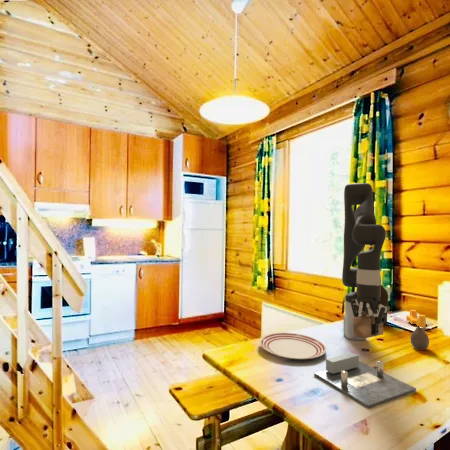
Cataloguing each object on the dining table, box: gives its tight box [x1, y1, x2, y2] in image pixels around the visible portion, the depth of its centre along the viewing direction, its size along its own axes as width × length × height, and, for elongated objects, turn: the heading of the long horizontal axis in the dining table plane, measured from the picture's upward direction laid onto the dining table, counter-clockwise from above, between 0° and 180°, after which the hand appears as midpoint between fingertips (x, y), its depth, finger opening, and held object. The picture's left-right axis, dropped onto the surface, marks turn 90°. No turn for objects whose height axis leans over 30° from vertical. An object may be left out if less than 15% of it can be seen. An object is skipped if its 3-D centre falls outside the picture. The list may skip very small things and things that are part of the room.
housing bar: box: [325, 352, 360, 374], centre depth 111 cm, size 3×13×4 cm, turn 116°
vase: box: [410, 326, 430, 351], centre depth 135 cm, size 7×7×9 cm
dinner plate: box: [259, 332, 327, 360], centre depth 131 cm, size 28×27×3 cm
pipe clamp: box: [406, 309, 427, 329], centre depth 168 cm, size 12×4×6 cm, turn 173°
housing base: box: [313, 360, 417, 410], centre depth 103 cm, size 22×22×6 cm
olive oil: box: [367, 284, 389, 326], centre depth 172 cm, size 11×11×25 cm
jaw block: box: [354, 314, 384, 339], centre depth 106 cm, size 4×10×6 cm, turn 118°
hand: (368, 332), depth 106 cm, fingers closed on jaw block, 4 cm apart
